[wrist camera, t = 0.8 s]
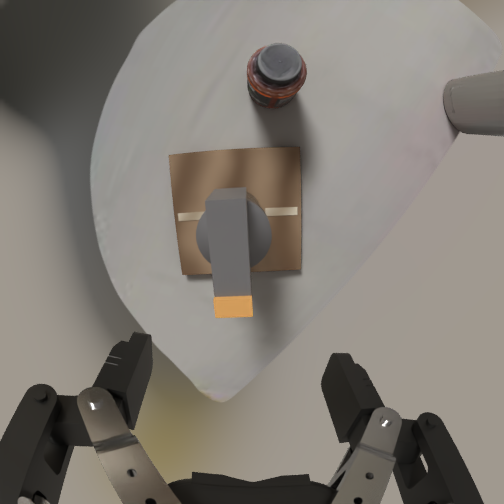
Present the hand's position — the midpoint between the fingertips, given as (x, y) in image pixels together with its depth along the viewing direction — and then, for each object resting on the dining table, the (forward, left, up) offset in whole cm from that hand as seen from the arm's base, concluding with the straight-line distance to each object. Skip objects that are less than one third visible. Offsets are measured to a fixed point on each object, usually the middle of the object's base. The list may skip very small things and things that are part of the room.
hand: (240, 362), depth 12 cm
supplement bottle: (-4, -17, -28) cm, 32 cm away
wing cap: (+1, -1, -18) cm, 18 cm away
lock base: (+1, -1, -27) cm, 27 cm away
